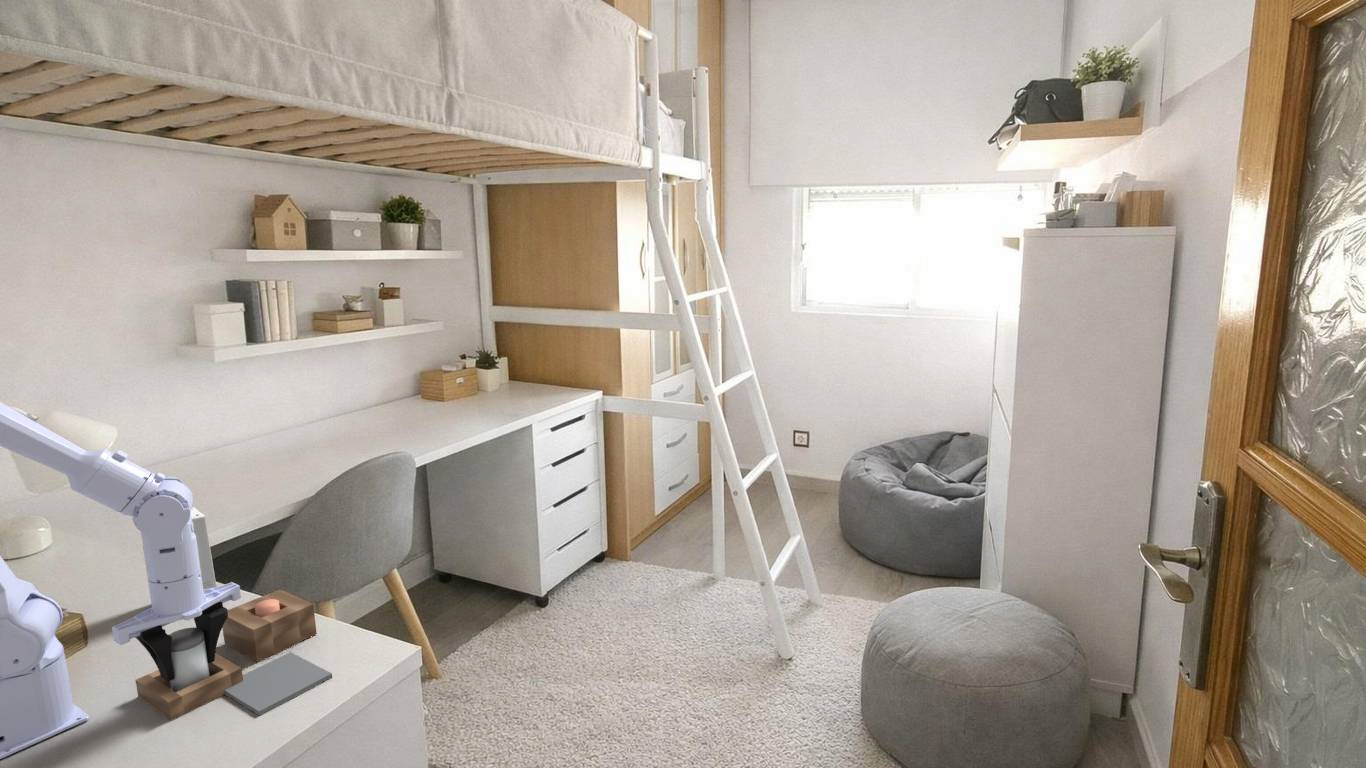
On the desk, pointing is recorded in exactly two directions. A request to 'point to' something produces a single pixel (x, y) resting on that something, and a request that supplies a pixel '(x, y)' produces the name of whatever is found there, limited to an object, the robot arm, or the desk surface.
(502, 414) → the desk surface
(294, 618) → the plunger housing
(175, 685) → the cylinder
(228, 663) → the sleeve
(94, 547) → the desk surface
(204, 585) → the skincare box
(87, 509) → the desk surface
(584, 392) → the desk surface
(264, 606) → the plunger
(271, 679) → the pad
